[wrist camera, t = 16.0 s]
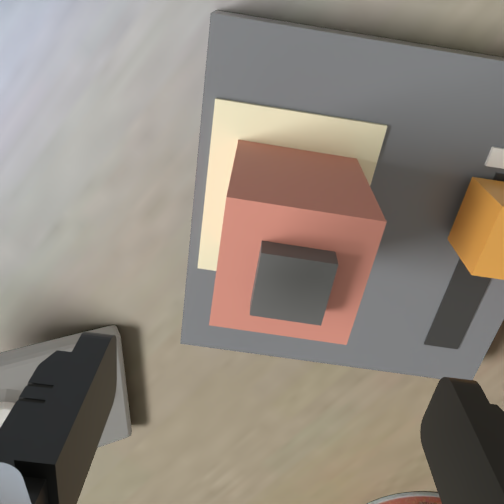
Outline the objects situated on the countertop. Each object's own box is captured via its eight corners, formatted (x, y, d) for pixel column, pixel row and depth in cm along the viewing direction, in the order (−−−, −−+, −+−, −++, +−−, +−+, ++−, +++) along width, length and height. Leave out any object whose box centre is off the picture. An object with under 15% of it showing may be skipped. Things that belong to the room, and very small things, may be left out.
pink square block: (329, 260, 22) (349, 360, 17) (223, 244, 22) (206, 339, 16) (356, 158, 20) (392, 233, 14) (238, 139, 20) (224, 207, 14)
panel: (458, 358, 28) (472, 385, 26) (186, 320, 27) (179, 345, 25) (595, 72, 20) (629, 82, 18) (216, 9, 19) (210, 13, 17)
